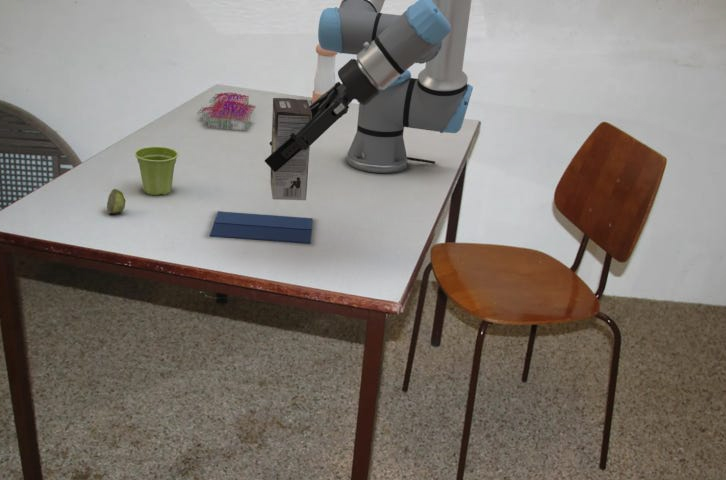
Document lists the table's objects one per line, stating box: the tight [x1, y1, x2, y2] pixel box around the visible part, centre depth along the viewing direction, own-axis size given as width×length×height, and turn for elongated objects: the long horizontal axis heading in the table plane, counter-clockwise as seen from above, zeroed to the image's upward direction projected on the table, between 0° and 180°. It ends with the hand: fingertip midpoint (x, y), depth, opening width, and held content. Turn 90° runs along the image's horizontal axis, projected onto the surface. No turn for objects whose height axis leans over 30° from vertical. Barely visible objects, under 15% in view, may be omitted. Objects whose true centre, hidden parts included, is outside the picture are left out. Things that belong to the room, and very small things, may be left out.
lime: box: [106, 188, 126, 215], centre depth 165 cm, size 4×5×5 cm
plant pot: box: [134, 146, 179, 196], centre depth 176 cm, size 9×9×9 cm
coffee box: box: [269, 97, 312, 201], centre depth 143 cm, size 9×6×16 cm
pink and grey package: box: [196, 91, 256, 131], centre depth 232 cm, size 30×15×5 cm, turn 174°
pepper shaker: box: [311, 43, 339, 104], centre depth 247 cm, size 7×7×19 cm
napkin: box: [209, 210, 313, 244], centre depth 163 cm, size 20×12×1 cm, turn 87°
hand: (272, 157), depth 144 cm, fingers closed on coffee box, 9 cm apart
